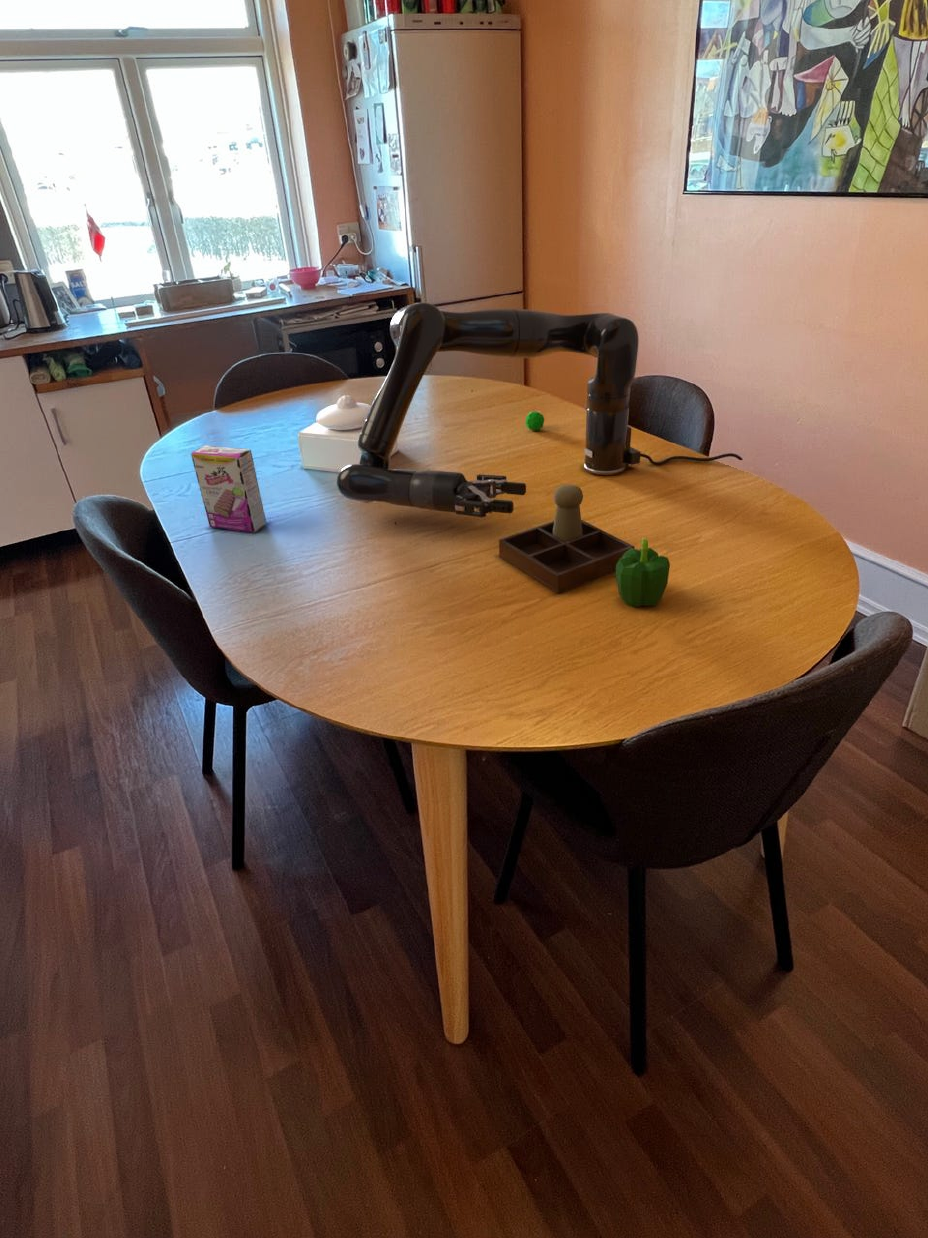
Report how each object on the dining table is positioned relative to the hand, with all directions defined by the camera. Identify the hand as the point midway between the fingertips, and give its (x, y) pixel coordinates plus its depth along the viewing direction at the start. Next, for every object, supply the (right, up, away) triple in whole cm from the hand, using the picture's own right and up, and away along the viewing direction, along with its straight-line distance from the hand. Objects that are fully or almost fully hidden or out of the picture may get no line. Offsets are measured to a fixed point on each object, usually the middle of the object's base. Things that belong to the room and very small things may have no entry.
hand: (519, 498), depth 137 cm
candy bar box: (-57, -3, +17) cm, 60 cm away
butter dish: (-38, +17, +48) cm, 64 cm away
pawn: (+9, -8, +2) cm, 12 cm away
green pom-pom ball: (+9, +28, +60) cm, 66 cm away
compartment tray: (+8, -12, -3) cm, 14 cm away
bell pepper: (+19, -19, -16) cm, 31 cm away
